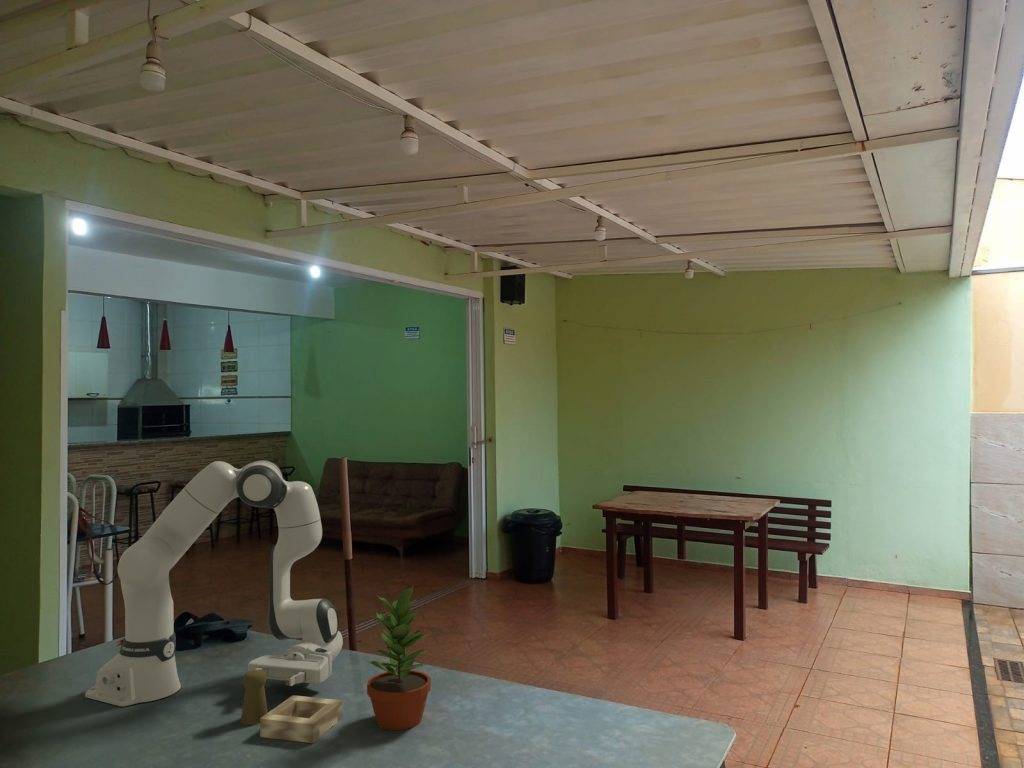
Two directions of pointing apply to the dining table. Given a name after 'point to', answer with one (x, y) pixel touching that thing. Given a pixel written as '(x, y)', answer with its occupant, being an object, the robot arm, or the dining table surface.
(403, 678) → the potted plant
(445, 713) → the dining table surface
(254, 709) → the cork
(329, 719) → the socket block
